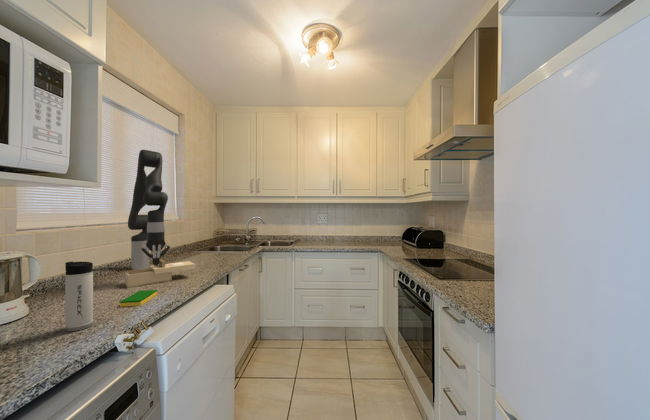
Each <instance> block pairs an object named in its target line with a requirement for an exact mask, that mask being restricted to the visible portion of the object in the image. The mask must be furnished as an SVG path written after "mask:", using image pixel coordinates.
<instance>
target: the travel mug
mask: <svg viewBox="0 0 650 420" xmlns="http://www.w3.org/2000/svg"><path fill="white" fill-rule="evenodd" d="M64 263H65V274H64V276H65V278H64V279H65V282H64V284H65V286H64V287H65V291H64V292H65V293H64V294H65V298H64V300H65V304H64V305H65V308H64V309H65V310H64V311H65V313H64V314H65V317H64V318H65V331H67V332H76V331H77V332H78V330H79V331H82V329H83V330H86V329H88V328H90V327H92V326H93V325H94V270H93V268H94V264H93V262H90V261H67V262H66V261H65V262H64ZM85 328H86V329H85Z"/></svg>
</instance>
